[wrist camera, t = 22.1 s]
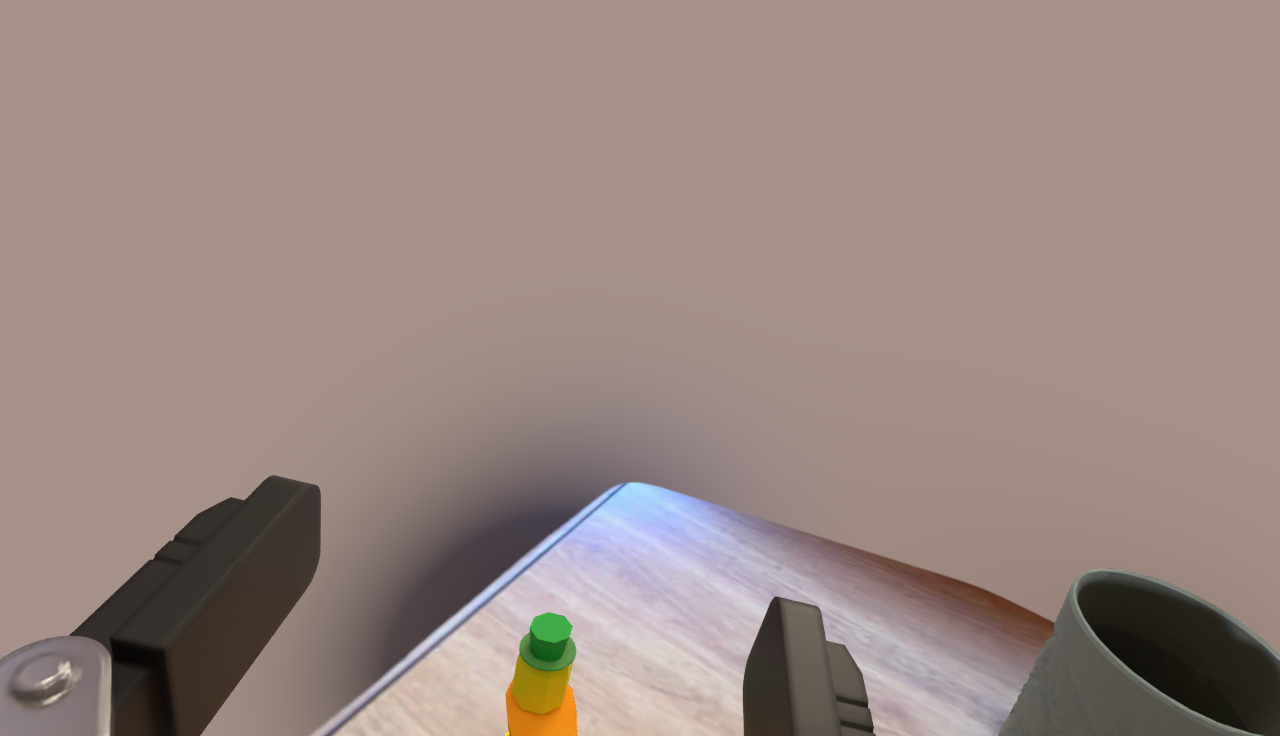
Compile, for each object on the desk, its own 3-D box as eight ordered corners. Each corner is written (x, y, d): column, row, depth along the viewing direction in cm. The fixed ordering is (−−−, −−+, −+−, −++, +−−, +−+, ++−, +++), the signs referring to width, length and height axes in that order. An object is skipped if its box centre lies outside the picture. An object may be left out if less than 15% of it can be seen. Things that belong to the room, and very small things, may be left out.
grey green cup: (1202, 834, 38) (1344, 685, 33) (1129, 945, 32) (1287, 785, 27) (1028, 688, 45) (1121, 545, 40) (940, 758, 39) (1037, 601, 34)
